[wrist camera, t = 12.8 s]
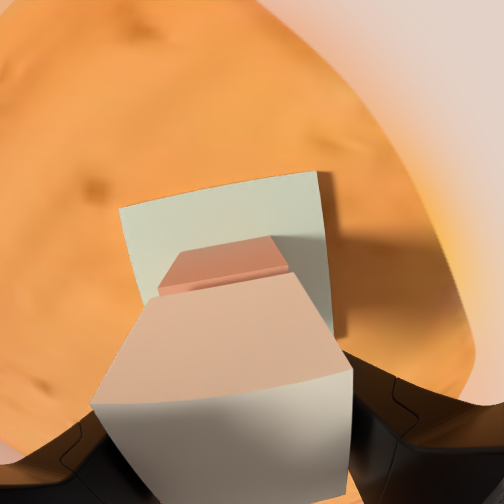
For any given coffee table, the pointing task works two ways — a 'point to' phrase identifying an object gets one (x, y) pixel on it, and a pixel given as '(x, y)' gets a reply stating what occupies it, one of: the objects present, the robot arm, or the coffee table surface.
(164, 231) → the plate
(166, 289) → the terracotta brick
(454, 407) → the robot arm
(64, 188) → the coffee table surface
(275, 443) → the cream brick
